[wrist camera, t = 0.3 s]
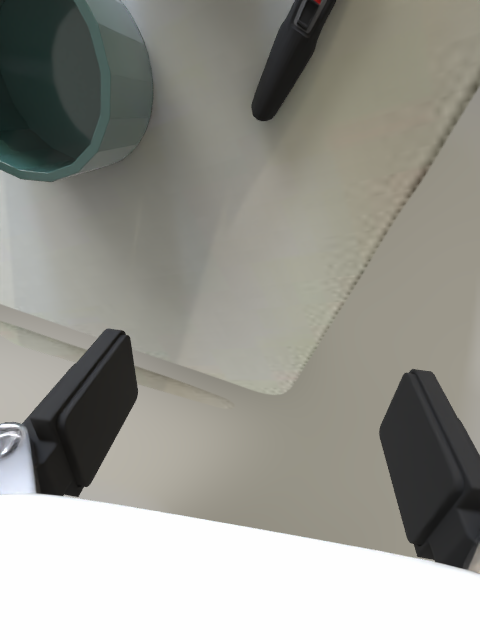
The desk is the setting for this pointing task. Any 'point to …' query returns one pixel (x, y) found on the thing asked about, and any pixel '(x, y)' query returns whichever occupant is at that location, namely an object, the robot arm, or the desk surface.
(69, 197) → the desk surface
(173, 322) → the desk surface
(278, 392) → the desk surface
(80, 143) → the canister
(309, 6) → the electric trimmer
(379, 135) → the desk surface
